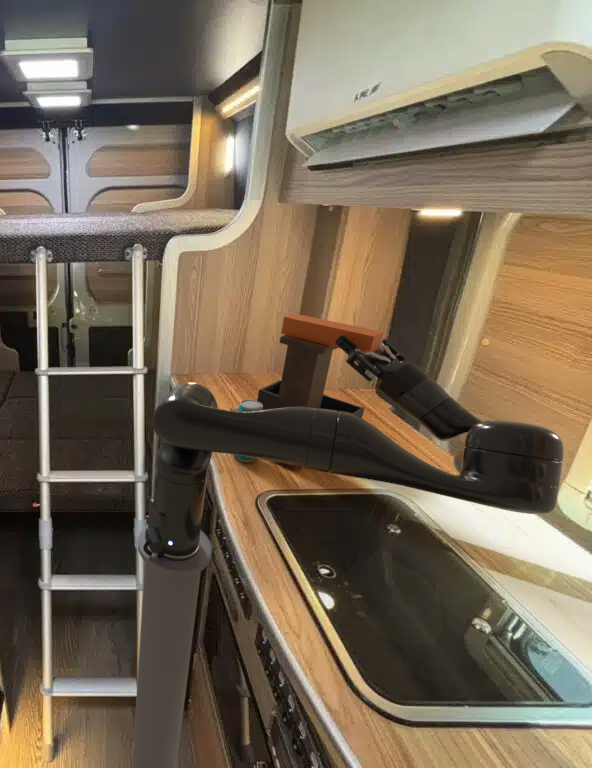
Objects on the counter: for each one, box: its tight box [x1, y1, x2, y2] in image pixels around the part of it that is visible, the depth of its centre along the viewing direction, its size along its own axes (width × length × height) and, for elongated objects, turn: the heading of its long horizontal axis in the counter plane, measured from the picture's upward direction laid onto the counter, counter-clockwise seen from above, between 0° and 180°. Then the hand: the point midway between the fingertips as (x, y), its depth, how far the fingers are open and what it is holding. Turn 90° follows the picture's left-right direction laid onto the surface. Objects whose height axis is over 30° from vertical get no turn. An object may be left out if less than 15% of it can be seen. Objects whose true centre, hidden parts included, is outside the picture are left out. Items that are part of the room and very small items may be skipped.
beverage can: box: [233, 399, 263, 463], centre depth 115 cm, size 6×6×15 cm
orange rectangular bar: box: [280, 313, 384, 352], centre depth 101 cm, size 19×5×4 cm, turn 38°
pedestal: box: [272, 334, 338, 472], centre depth 110 cm, size 10×9×32 cm
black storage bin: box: [256, 379, 365, 419], centre depth 123 cm, size 23×10×13 cm, turn 38°
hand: (348, 334), depth 98 cm, fingers open, 8 cm apart
